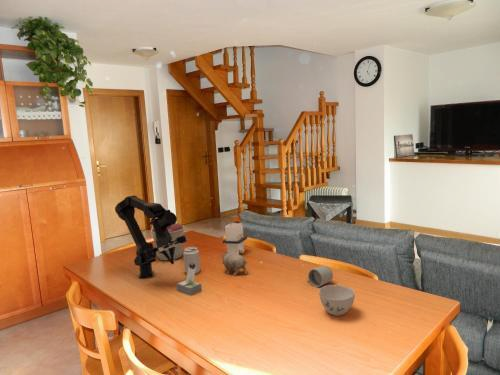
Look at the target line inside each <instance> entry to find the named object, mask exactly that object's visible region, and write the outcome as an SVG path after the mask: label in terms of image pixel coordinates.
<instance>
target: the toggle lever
mask: <svg viewBox="0 0 500 375" xmlns="http://www.w3.org/2000/svg"><path fill="white" fill-rule="evenodd" d="M195 269H196V266H195V264H194V263H191V264H190V265H189V267H188V272H187V273H186V279H185V280H186V283H187V284H191V283H193V281H194V282H195V276H196V274H195Z"/></svg>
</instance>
